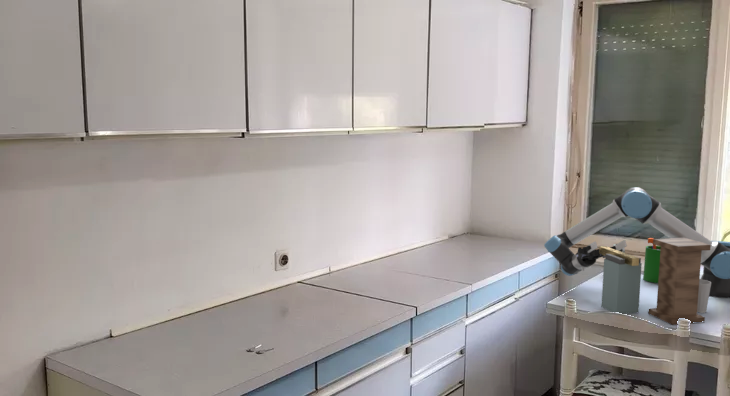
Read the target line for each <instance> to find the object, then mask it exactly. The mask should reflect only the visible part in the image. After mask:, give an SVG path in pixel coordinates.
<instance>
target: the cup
mask: <svg viewBox="0 0 730 396" xmlns="http://www.w3.org/2000/svg"><path fill="white" fill-rule="evenodd" d="M710 287H711V282H710V281H707V280H703V279H701V278H700V279H699V292H698V305H697V312H700V313H699V314H706V313H707V311H708V306H709V305H708V304H709V298H710V295H709V293H710ZM705 312H706V313H705Z"/></svg>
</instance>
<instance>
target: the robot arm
mask: <svg viewBox="0 0 730 396" xmlns="http://www.w3.org/2000/svg"><path fill="white" fill-rule="evenodd" d="M623 217H624V218H628V217H629V218H632V219H635V220H637V221H638V222H639V223H640V224H642V225H647V224H648V225H650V226H651V227H652V228H654V229H656V230H657V231H659V232H660V233H662V234H663V235H664V236H666V237H667V238H688V239H691V240H695V241H698V242H702V243H706V244H709V245H711V247H710V250H703V251H702V253H701V265H702V266H703V271H702V275H701V277H700V279H703V280H707V281H710V282H711V287H710V293H709V296H712V297H719V298H730V241H723V240H710V239H709V238H707V237H705V236H704V235H702V234H701V233H700V232H698V231H696V230H695V229H694V228H692V227H691V226H689V225H687V224H686V223H685V222H684V221H682V220H681V219H679V218H677V217H676V216H674V214H671V213H670V212H669V211H667V210H666V209H664V208H663V207H662V203H661V202H660V201H659V200H657V199H656V198H654V197H653V196H652V195H650V194H649V193H648V192H647V190H645V189H643V188H642V187H639V186H638V187H636V186H633V187H630V188H628V189H626V190H625V191H624V192H623V193H621V194H619V195H618V196H617V197H616V198H614V199H613V200H612V202H611V203H610V204H608V205H607V206H605V207H603V208H602V209H599V210H598V211H597V212H595V213H593V214H591V215H590V216H588V217H587V218H585V219H583V220H582V221H579V222H578V223H577V224H575V225H573V226H572V227H569V228H568V229H567V230H565V231H563V232H561V233H560V234H557V235H553V236H551V237H549V239H548V240H547V241H546V242H545V243H544V244H543V246H544V248H545V249H546V250H547V252H549V253H550V255H551V256H553V258H554V259H555V260H556V261H558V263H559V264H560V269H561V272H562V273H563V275H566V276H569V277H570V276H574V275H577V274H579V273H580V272H582V271H585V269H587V268H589V267H592V266H593V265H594V264H596V261H597V260H598V259H600V258H603V259H605V256H604V255H602V254H599V249H598V243H597V241H593V242H591V243H590V244H588V245H587V246H583V247H578V249H577V252H576V253H574V252H573V251H572V250H571V248H572V247H573V246H575V245H576V244H578V243H580V242H581V241H583V240H585V239H586V238H588V237H590V236H592V235H593V234H595V233H597V232H598V231H600V230H602V229H604V228H605V227H607V226H609V225H610V224H612V223H614V222H616V221H618V220H619V219H621V218H623ZM615 244H616V245H615V246H613V245H612V246H610V247H609V246H608V247H609V248H612V249H615V250H618V251H621V252H622V251H623V250H622V249H623V248H625V249H626V247H628V245H627V241H626V240H625V239H622V240H621V241H620V242H618V243H615Z"/></svg>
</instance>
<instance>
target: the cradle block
mask: <svg viewBox="0 0 730 396" xmlns="http://www.w3.org/2000/svg"><path fill="white" fill-rule="evenodd" d="M625 253H626V254H629V253H627V252H625ZM629 255H631V254H629ZM638 258H639V266H631V265H628V264H625V259H623V258H620V257H617V256H615V255H612V254H605V258H603V271H602V274H603V275H602V290H601V291H602V292H601V306H600V307H601V308H603V309H605V310H607V311H609V312H611V313H613V312H619V313H625V314H637V312H638V313H639V310H640V309H639V307H640V295H641V294H640V293H641V292H640V291H641V279H642V277H641V276H642V264H643V263H641V262H642V261H641V260H642V259H641V257H638Z"/></svg>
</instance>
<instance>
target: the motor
mask: <svg viewBox="0 0 730 396" xmlns="http://www.w3.org/2000/svg"><path fill="white" fill-rule="evenodd" d="M653 239H654V238H653V237H649V238H648V237H647V243H648V244H652V245H646V246H645V251H644V264H643V278H642V279H643V280H644V281H645V282H647V283H653V284H658V279H659V265H660V250H661V246H657V245H654V244H653Z"/></svg>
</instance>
